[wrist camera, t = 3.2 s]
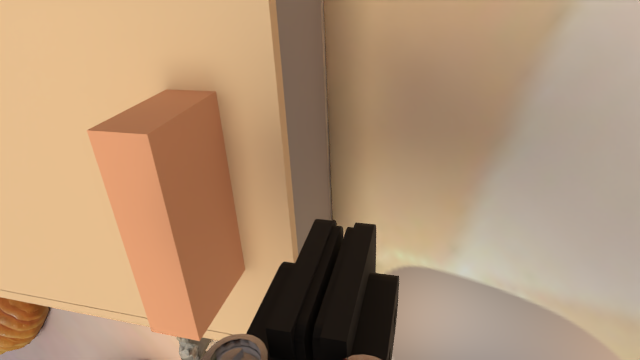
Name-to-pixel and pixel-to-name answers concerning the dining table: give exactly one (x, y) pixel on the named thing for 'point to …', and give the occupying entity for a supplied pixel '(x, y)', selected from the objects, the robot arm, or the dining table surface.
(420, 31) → the dining table surface
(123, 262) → the lid
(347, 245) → the robot arm
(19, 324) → the pastry
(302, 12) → the box
